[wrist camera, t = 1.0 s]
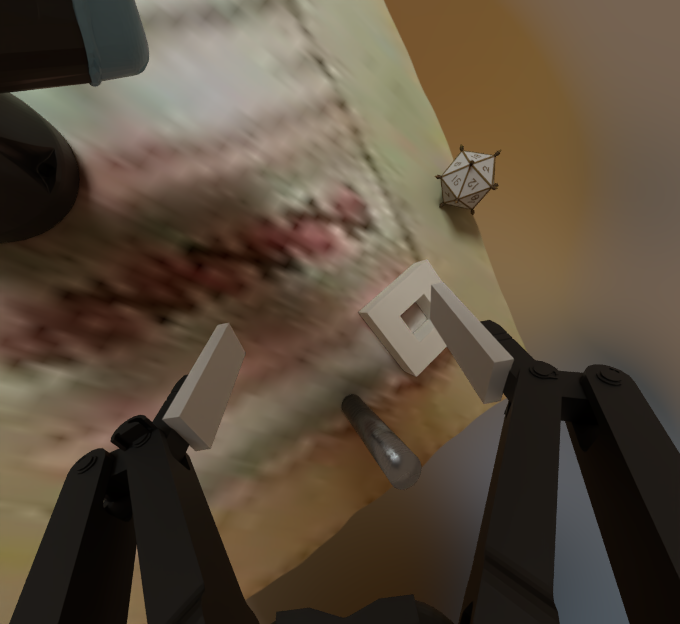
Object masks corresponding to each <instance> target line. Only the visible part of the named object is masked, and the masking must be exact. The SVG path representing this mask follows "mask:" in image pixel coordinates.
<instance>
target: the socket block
mask: <svg viewBox="0 0 680 624" xmlns="http://www.w3.org/2000/svg"><path fill="white" fill-rule="evenodd" d="M436 283H442V281H441V279H440V278H439V276H438V275H437V273H436V272H435V270H434V269H433V267H432V266H431V264H430V263H429V261H428V260H423V261H420V262H417V263H414V264H412V265H411V266H410V267H409V268H408V269H407V270H406V271H404V272H403V273H402V274H401V275H400V276H399V277H398V278H397V279H395V280H394V281H393V282H392V283H391V284H390V285H389V286H387V287H386V288H385V289H384V290H383V291H382V292H381V293H379V294H378V295H377V296H376V297H375V298H374V299H373V300H372V301H370V302H369V303H368V304H367V305H366V306H365V307H364V308H362V309H361V310H360V311H359V312H358V313H359V314H360V315H361V317H362V318H363V319H364V320H365V322H366V323H367V324H368V326H369V327H370V328H371V329H372V331H373V332H374V333H375V335H376V336H377V337H378V338H379V340H380V341H381V342H382V344H383V345H384V346H385V347H386V349H387V350H388V351H389V353H390V354H391V355H392V356H393V358H394V359H395V360H396V362H397V363H398V364H399V365H400V367H401V368H402V369H403V371H405V372H407V373H409V374H411V375H413V376H415V377H417V376H418V375H419V374H420V373H421V372H422V371H423V370H424V369H425V368H426V367H427V366H428V365H429V364H430V363H431V362H432V361H433V360H434V359H435V358H436V357H437V356H438V355H439V354H440V353H441V352H442V351H443V350H444V349H445V348H446V347H447V346H446V344H445V342H444V341H443V339H442V338H441V336H440V335H439V333H438V332H437V330H436V328H435V327H434V325H433V324H432V322H431V321H430V303H431V284H436ZM414 302H416V303H417V304H418V306H419V307H420V309H421V310H422V311H423V313H424V314H425V316H426V317H427V318H428V319H427V320H426V321H425V322H424V323H423V324H422V325H421V326H420V327H419V328H418V329H417V330H416V331H415V332H414V333H412V332H411V330H410V329H409V328H408V326H407V325H406V324H405V322H404V321H403V319H402V318H401V317H400V315H402V314H403V313H404V312H405V311H406V310H407V309H408V308H409V307H410V306H411V305H412V304H413V303H414Z"/></svg>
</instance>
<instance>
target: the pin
mask: <svg viewBox="0 0 680 624" xmlns="http://www.w3.org/2000/svg"><path fill="white" fill-rule="evenodd" d="M341 408H342V411H343V413H344V414H345V416H346V417H347V419H348V420H349V422H350V423H351V425H352V426H353V428H354V429H355V430H356V432H357V433H358V435H359V436H360V438H361V439H362V441H363V442H364V444H365V445H366V447H367V448H368V450H369V451H370V453H371V454H372V456H373V457H374V459H375V460H376V462H377V463H378V465H379V466H380V468H381V469H382V471H383V472H384V474H385V475H386V476H387V478H388V479H389V481H390V482H391V484H392V485H393V486H394V487H395V488H397V489H400V490H404V489H408V488H410V487H412V486H413V485H414V484H415V483H416V482H417V480H418V479H419V477H420V473H421V463H420V460H419V459H418V457H417V456H416V455H415V454H414V453H413V452H412V451H411V450H410V449H409V448H408V447H407V446H406V445H405V444H404V443H403V442H402V441H401V440H400V439H399V438H398V437H397V436H396V435H395V434H394V433H393V432H392V431H391V429H390V428H389V427H388V426H387V425H386V424H385V423H384V422H383V421H382V420H381V419H380V418H379V417H378V416H377V415H376V414H375V413H374V412H373V411H372V410H371V409H370V408H369V407H368V406H367V405H366V404H365V403H364V402H363V400H362V399H361V398H360V397H359V396H357V395H354V394H351V395H348V396H347V397H345V398H344V400H343V401H342V405H341Z"/></svg>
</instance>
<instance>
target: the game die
mask: <svg viewBox="0 0 680 624" xmlns="http://www.w3.org/2000/svg"><path fill="white" fill-rule="evenodd" d="M463 149H464V148H463V146H462V145H460V151H461V152H460V154H459V155H458V156H457V157H456V158H455V160H454V161H453V162H452V163H451V165H450V166H449V167H448V168H447V169H446V171H445V172H444V173H443V174H442V176H440V175H437V176H435V177H436V178H437V179H441V187H442V195H443V203H441V204H440V206H439V207H442V206H443V205H444V204H448V205H453V206H457V207H461V208H466V209H470V210H471V214H472V215H473V214H474V210H473V209H474V208H475V206H476V205H477V204H478V203H479V202H480V201H481V200H482V199H483V197H484V196H485V195H486V194H487V193H488V192H489V191H490V189H493V190H495V189H497V187H498V184H496V183H495V184H494V175H495V157H496V156H497V155H499V154H500V152H501V150H499V151H497V152H496V153H495V154H494V155H489V154H483V153H476V152H470V151H463Z"/></svg>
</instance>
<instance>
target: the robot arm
mask: <svg viewBox="0 0 680 624" xmlns="http://www.w3.org/2000/svg"><path fill="white" fill-rule="evenodd" d="M148 61H149V47H148V42H147V39H146V35H145V32H144V28H143V25H142V22H141V19H140V16H139V12H138V9H137V6H136V3H135V0H0V243H5V242H13V241H19V240H24V239H27V238H31V237H33V236H36V235H39V234H41V233H43V232H45V231H47V230H48V229H50V228H52V227H53V226H54V225H56V224H57V223H58V222H59V221H61V220H62V219H63V218H64V217H65V215H66V214H67V213H68V212H69V210H70V209H71V207H72V205H73V203H74V201H75V199H76V196H77V193H78V187H79V172H78V166H77V163H76V160H75V157H74V155H73V152H72V150H71V148H70V147H69V145H68V143H67V142H66V140H65V139H64V138H63V136H62V135H61V134H60V133H59V132H58V131H57V130H56V129H55V127H54V126H52V125H51V124H50V123H49V122H48V121H47V120H46V119H44V118H43V117H42V116H41V115H40V114H38V113H37V112H36V111H35V110H33V109H32V108H31V107H30V106H29V105H27V104H26V103H25V102H23V101H22V100H20V99H19V98H17V97H16V96H14V95H13V94H11V93H9V92H17V91H26V90H35V89H43V88H52V87H60V86H69V85H78V84H86V83H89V84H90V85H91V86H98V85H100V84H101V81H106V80H111V79H117V78H123V77H128V76H134V75H138V74H140V73H141V72H143V71H144V70H145V68H146V66H147V63H148ZM430 321H431V322H432V324H433V325H434V327H435V328H436V330H437V332H438V333H439V335H440V336H441V338H442V339H443V341H444V342H445V344H446V346H447V347H448V349H449V350H450V352H451V353H452V355H453V357H454V358H455V360H456V361H457V363H458V364H459V366H460V368H461V369H462V371H463V372H464V374H465V375H466V377H467V379H468V380H469V382H470V383H471V385H472V386H473V388H474V390H475V391H476V393H477V394H478V396H479V397H480V399H481V401H482V402H483V404H486V403H492V402H498V401H501V398H502V395H503V393H504V395H505V396H506V397H507V399H508V400H509V401H508V405H507V407H506V410H505V413H504V414H505V418H504V423H503V427H502V432H501V437H500V441H499V446H498V450H497V455H496V459H495V464H494V469H493V473H492V478H491V482H490V487H489V492H488V497H487V501H486V505H485V510H484V515H483V519H482V524H481V528H480V533H479V538H478V542H477V547H476V552H475V556H474V561H473V565H472V570H471V574H470V577H469V581H468V584H467V588H466V592H465V596H464V600H463V605H462V609H461V613H460V618H459V623H458V624H560V623H559V616H558V611H557V609H556V606H555V604H554V599H553V579H554V557H555V534H556V512H557V511H556V510H557V490H558V468H559V467H558V466H559V444H560V422H561V421H565V423H566V425H567V429H568V432H569V435H570V438H571V441H572V445H573V448H574V451H575V454H576V457H577V460H578V463H579V466H580V470H581V473H582V476H583V479H584V482H585V485H586V489H587V492H588V495H589V498H590V501H591V504H592V507H593V510H594V514H595V517H596V520H597V523H598V526H599V529H600V532H601V536H602V538H603V542H604V545H605V548H606V551H607V554H608V557H609V561H610V564H611V567H612V570H613V573H614V576H615V579H616V582H617V586H618V589H619V592H620V595H621V598H622V601H623V604H624V607H625V611H626V614H627V617H628V620H629V623H630V624H680V453H679V452H678V450H677V448H676V447H675V445H674V444H673V442H672V441H671V439H670V437H669V436H668V435H667V433H666V431H665V430H664V428H663V426H662V425H661V423H660V421H659V420H658V418H657V417H656V415H655V414H654V412H653V410H652V409H651V407H650V406H649V404H648V402H647V401H646V399H645V398H644V396H643V394H642V393H641V391H640V390H639V388H638V386H637V385H636V383H635V382H634V381H633V380H632V378H631V377H630V376H629V375H627V374H625V373H624V372H622V371H621V370H618V369H616V368H613V367H610V366H606V365H591V366H588V367H587V368H586V370H585V371H584V373H579V372H566V371H558V370H557V369H556V368H555V367H553V366H552V365H550V364H548V363H545V362H542V361H536V360H534V359H533V358H532V357H531V356H530V355H529V354H528V353H527V352H526V351H525V350H524V349H523V348H522V347H521V346H520V345H519V344H518V343H517V342H516V341H515V340H514V339H512V337H511V336H510V335H509V334H508V333H507V332H506V331H505V330H504V329H503V328H502V327H501V326H500V325H498V324H496V323H495V322H493V321H491V320H487V321H481V322H480V321H479V320H478V319H477V318H476V317H475V316H474V315H473V314H472V313H471V312H470V310H469V309H468V308H467V307H466V306H465V305H464V304H463V303H462V302H461V301H460V300H459V298H458V297H457V296H456V295H455V294H454V293H453V292H452V291H451V290H450V289H449V288H448V287H447V285H446V284H445V283H444V282H442V283H436V284H431V303H430ZM245 354H246V352H245V351H244V349H243V347H242V345H241V343H240V342H239V340H238V338H237V336H236V334H235V333H234V331H233V329H232V327H231V325H230V324H229V323H225V324H220V325H217V327H216V329H215V330H214V332H213V334H212V335H211V337H210V339H209V341H208V342H207V344H206V346H205V347H204V349H203V351H202V352H201V354H200V356H199V358H198V359H197V361H196V363H195V364H194V366H193V368H192V369H191V371H190V373H189V375H184V376H183V377H182V378H181V379H180V380H179V381H178V382H177V383H176V385H175V386H174V388H173V389H172V391H171V394H169V396H168V398H167V401H165V402H164V404H163V406H162V407H161V409H160V411H159V412H158V414H157V415H156V417H155V419H154V420H153V422H151V421H150V420H149V419H148V418H147V417H146V416H145V415H138V416H134V417H132V418H130V419H128V420H127V421H126V422H124V423H123V424H122V425H120V426H119V427H118V429H117V430H116V431H115V432H114V434H113V435H112V437H111V442H112V443H113V444H114V445H116V446H117V447H119V449H117V450H115V451H113V452H110V453H109V452H107V451H106V450H104V449H103V448H98V449H95V450H93V451H91V452H89V453H87V454H86V455H84V456H83V457H82V458H81V459H79V460H78V461H77V462H76V463H75V464H74V465H73V467H72V468H71V469H70V471H69V473H68V475H67V477H66V480H65V482H64V485H63V487H62V490H61V492H60V495H59V497H58V500H57V503H56V505H55V508H54V510H53V513H52V515H51V518H50V521H49V523H48V526H47V528H46V531H45V533H44V536H43V538H42V541H41V544H40V546H39V549H38V551H37V554H36V556H35V559H34V562H33V564H32V567H31V569H30V572H29V574H28V577H27V579H26V582H25V585H24V587H23V590H22V592H21V595H20V597H19V600H18V603H17V605H16V608H15V610H14V613H13V615H12V618H11V620H10V623H9V624H127V617H128V609H129V601H130V593H131V585H132V577H133V570H134V562H135V554H136V546H137V549H138V557H139V564H140V571H141V579H142V586H143V594H144V601H145V609H146V616H147V623H148V624H259V621H258V619H257V618H256V616H255V614H254V613H253V611H252V610H251V609H250V608H249V606H248V605H247V603H246V601H245V599H244V597H243V594H242V592H241V589H240V587H239V584H238V581H237V579H236V576H235V574H234V571H233V568H232V566H231V563H230V561H229V558H228V555H227V553H226V550H225V548H224V545H223V542H222V540H221V537H220V535H219V532H218V529H217V527H216V524H215V522H214V519H213V516H212V514H211V511H210V509H209V506H208V504H207V501H206V498H205V496H204V493H203V491H202V488H201V485H200V483H199V480H198V478H197V475H196V472H195V470H194V467H193V465H192V462H191V459H190V457H189V455H188V454H187V453H186V451H187V449H188V447H189V445H190V446H191V447H192V448H193V449H194V450H195V451H199V450H205V449H211V446H212V444H213V441H214V438H215V435H216V433H217V430H218V427H219V425H220V422H221V419H222V416H223V414H224V411H225V408H226V406H227V403H228V400H229V397H230V395H231V392H232V389H233V387H234V384H235V381H236V378H237V376H238V373H239V370H240V368H241V365H242V362H243V359H244V357H245ZM272 624H454V623H453V622H452V621H451V620H449V619H448V618H447V617H446V616H445V615H444V614H442V613H441V612H439V611H438V610H437V609H435V608H434V607H432V606H430V605H428V604H426V603H423V602H420V601H416V600H415V599H414V595H413V594H412V595H404V596H397V597H389V598H381V599H378V600H376V601H374V602H373V603H371V604H369V605H368V606H366V607H364V608H362V609H361V610H359V611H357V612H355V613H354V614H352V615H350V616H348V617H346V618H342V617H338V616H335V615H331V614H328V613H325V612H322V611H319V610H315V609H312V608H303V609H296V610H288V611H280V612H277V613H276V621H274V622H273V623H272Z"/></svg>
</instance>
